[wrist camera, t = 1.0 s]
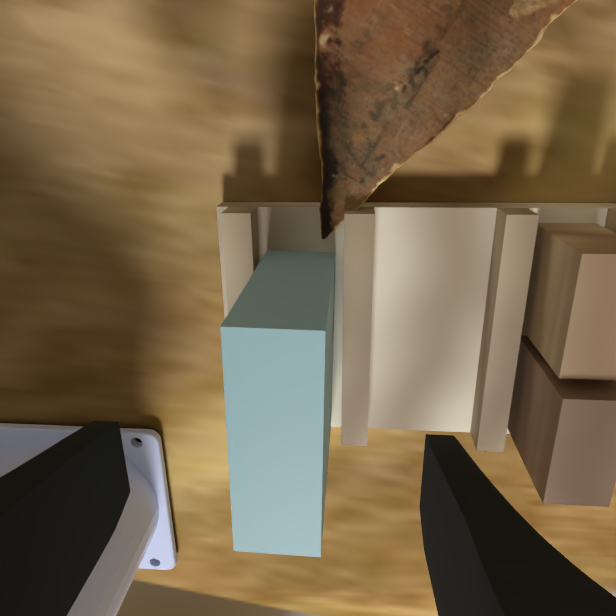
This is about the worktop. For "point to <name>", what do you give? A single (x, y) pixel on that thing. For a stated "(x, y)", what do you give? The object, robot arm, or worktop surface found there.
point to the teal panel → (280, 402)
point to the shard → (405, 80)
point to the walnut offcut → (564, 431)
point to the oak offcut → (574, 300)
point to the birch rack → (413, 303)
